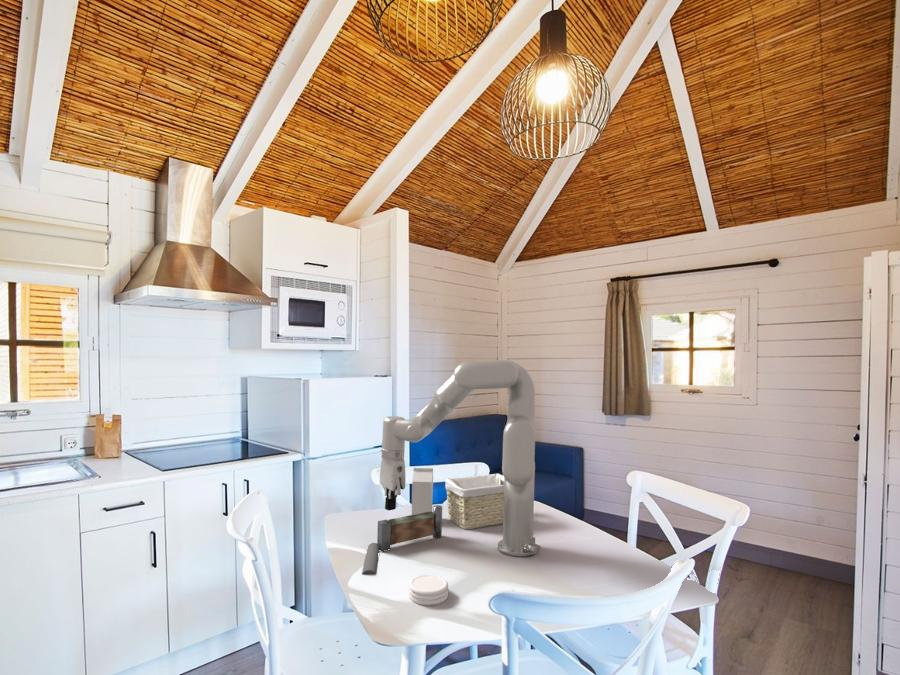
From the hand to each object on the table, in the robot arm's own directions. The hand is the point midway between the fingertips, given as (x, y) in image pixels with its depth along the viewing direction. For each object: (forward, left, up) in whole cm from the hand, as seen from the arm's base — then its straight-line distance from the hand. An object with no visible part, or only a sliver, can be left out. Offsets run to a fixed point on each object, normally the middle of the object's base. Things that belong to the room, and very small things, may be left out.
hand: (390, 509), depth 166 cm
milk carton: (+8, -17, -9) cm, 21 cm away
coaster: (-40, +11, -10) cm, 43 cm away
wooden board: (-8, -3, -8) cm, 12 cm away
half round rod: (-13, +13, -10) cm, 21 cm away
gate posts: (-8, -3, -9) cm, 13 cm away
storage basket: (-3, -36, -9) cm, 38 cm away
